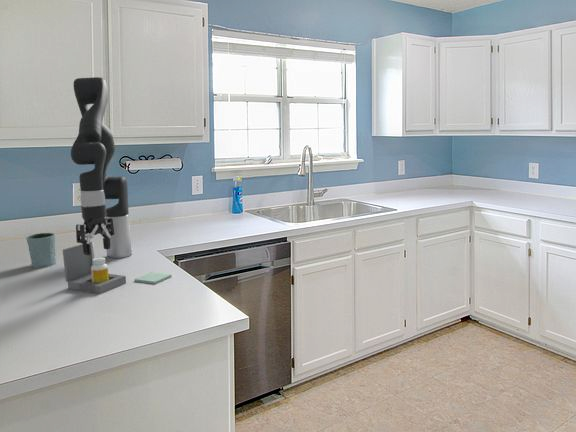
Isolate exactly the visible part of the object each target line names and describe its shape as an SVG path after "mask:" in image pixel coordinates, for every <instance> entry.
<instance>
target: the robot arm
mask: <svg viewBox="0 0 576 432" xmlns="http://www.w3.org/2000/svg"><path fill="white" fill-rule="evenodd" d="M73 92H74V96H75V99H76V103H77V106H78V108H79V111H80V114H81V118H80V121H79V127H78V135H77V137H76V139H75V140H74V142H73V143H72V146H71V149H70V158H71V161H72V162H73V163H74V164H76V165H79V166H82V165H83V166H84V165H93V166H94V168H92V170H88V171H84V172H81V173H80V174H79V179H78V180H79V188H80V195H79V196H80V199H79V200H80V208H81V218H82V219H83V221H84V222H83V223H81V224H76V225H75V235H76V243H77V244H83V252H84V254H85V255H91V248H90V244H89V243H90V242H91V240H92V239H93V238H94V236H96V235H98V234H100V235H101V236H102V243H103V249H104V250H106V256H107V257H109V258H114V259H119V258H120V259H121V258H127V257H130V256H131V255H133V254H132V252H133V250H132V236H131V227H130V226H131V225H130V215H129V195H128V194H129V191H128V190H129V189H128V188H129V187H128V179H126V177H125V176H108V175H107V169H108V166H109V164H110V162H111V161H112V159H113V157H114V154H115V151H116V145H115V141H114V135H113V133H112V131H111V129H109V127H108V126H107V125H106V124H105V123H104V122H103V119H104V115H105V112H106V108H107V105H108V99H109V88H108V85H107V81H106V79H105V78H103V77H98V76H96V77H95V76H93V77H79V78H75V79H74V81H73ZM90 105H91V106H90ZM106 200H118V202H117V204H116V203H115V205H112V206H110V207H106V205H107V204H106Z"/></svg>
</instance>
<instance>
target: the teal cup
mask: <svg viewBox="0 0 576 432" xmlns="http://www.w3.org/2000/svg"><path fill="white" fill-rule="evenodd" d="M25 238H26V242H27V247H28V251H29V256H30V261H31V266H32V268H35V267H36V269H37V268H39V269H40V267H42V268H49V267H53V266H54V265H56V263H57V255H56V234H55V233H54V232H39V233H33V234H30V235H27V236H26V237H25ZM52 265H53V266H52ZM48 266H49V267H48Z"/></svg>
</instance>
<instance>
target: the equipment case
mask: <svg viewBox="0 0 576 432" xmlns="http://www.w3.org/2000/svg"><path fill="white" fill-rule="evenodd" d="M89 244H90V248H91V255H85V254H84V252H83V244H82V243H79V244H78V245H77V244H76V245H74V246H71V247H68V248H67V247H66V248H64V249H62V256H63V259H62V260H63V267H64V275H65V277H64V278H65V282H67V287H68V290H73V291H78V292H79V291H80V292H87V293H92V294H93V293H94V294H99V295H101V294H104V293H105V292H108V291H111V290H113V289H115V288H117V287H119V286H122V285H125V284H127V278H126V277H127V276H126V275H121V274H113V273H108V275H109V280H108V281H105V282H103V283H94V282H92V276H91V266H92V265H94V264H93V263H92V260H93V259H95V258H96V256H95V255H96V254H95V244H94V243H93V242H92V241H90V243H89Z"/></svg>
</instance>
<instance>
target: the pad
mask: <svg viewBox="0 0 576 432" xmlns="http://www.w3.org/2000/svg"><path fill="white" fill-rule="evenodd" d="M169 278H172V274H169V273H162V272H161V273H160V272H154V271H152V272H151V271H150V272H148V273H145V274H144V275H141V276H138V277H136V278H134V282H136V283H144V284H154V285H157V284H159V283H161V282H163V281H165V280H167V279H169Z"/></svg>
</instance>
